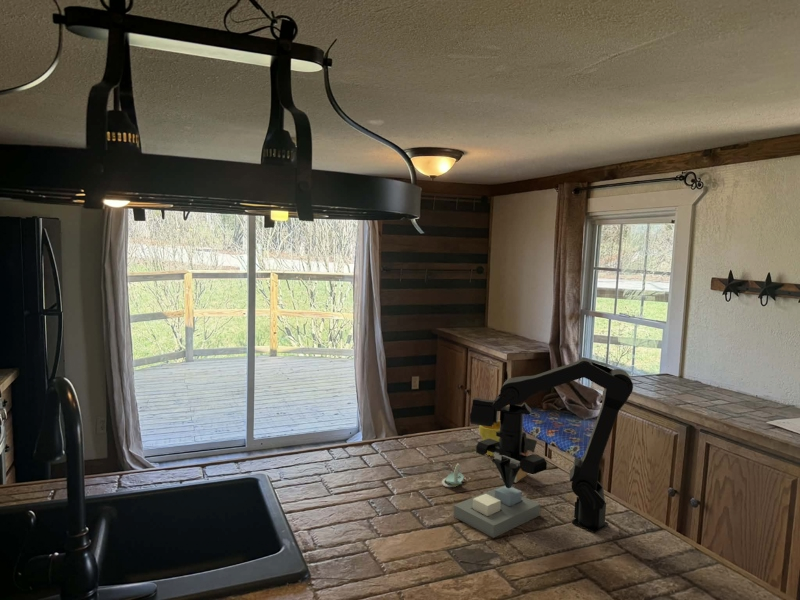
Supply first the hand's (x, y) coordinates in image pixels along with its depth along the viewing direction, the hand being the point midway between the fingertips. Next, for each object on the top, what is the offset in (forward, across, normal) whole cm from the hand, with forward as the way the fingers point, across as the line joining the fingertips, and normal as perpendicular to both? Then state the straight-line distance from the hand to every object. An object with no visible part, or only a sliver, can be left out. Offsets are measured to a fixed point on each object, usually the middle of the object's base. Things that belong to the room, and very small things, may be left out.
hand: (508, 487), depth 142 cm
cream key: (+3, 0, +8) cm, 9 cm away
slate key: (+3, 0, 0) cm, 3 cm away
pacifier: (+7, +21, 0) cm, 22 cm away
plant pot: (+6, +29, -29) cm, 41 cm away
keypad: (+6, 0, +4) cm, 8 cm away
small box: (+7, +13, -19) cm, 24 cm away
